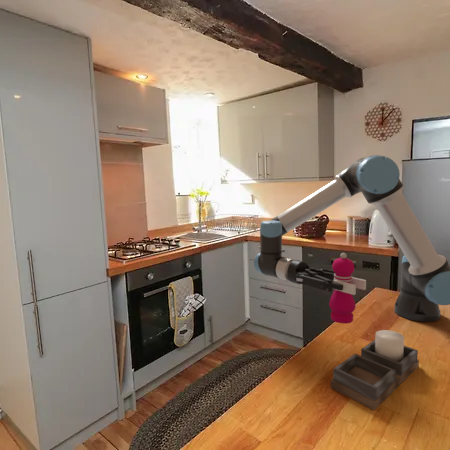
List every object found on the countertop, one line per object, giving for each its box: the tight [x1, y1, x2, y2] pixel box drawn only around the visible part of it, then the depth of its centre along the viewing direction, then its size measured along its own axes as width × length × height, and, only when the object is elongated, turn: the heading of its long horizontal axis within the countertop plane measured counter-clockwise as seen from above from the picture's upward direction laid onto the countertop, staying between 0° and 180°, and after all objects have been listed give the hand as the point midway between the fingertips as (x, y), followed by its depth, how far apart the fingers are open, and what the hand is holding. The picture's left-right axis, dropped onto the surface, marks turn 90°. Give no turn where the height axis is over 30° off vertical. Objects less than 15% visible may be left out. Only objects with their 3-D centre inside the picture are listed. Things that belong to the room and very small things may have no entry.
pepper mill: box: [328, 252, 356, 324], centre depth 96 cm, size 7×7×20 cm
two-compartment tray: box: [330, 339, 420, 411], centre depth 87 cm, size 26×11×5 cm, turn 130°
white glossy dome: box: [374, 329, 405, 363], centre depth 91 cm, size 7×7×7 cm
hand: (360, 287), depth 92 cm, fingers closed on pepper mill, 5 cm apart
